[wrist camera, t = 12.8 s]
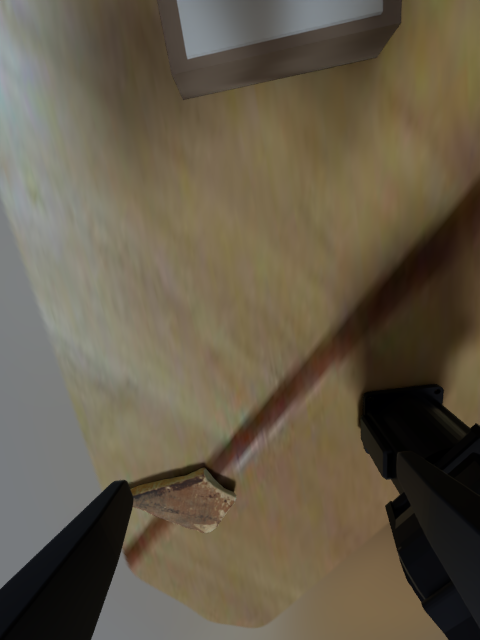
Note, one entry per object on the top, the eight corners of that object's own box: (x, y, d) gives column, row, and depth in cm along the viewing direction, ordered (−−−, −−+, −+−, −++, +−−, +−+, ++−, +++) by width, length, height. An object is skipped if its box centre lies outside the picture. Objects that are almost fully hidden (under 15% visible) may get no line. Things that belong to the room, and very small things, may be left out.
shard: (121, 487, 27) (112, 503, 25) (145, 437, 25) (138, 451, 23) (211, 522, 28) (208, 540, 26) (242, 477, 26) (241, 494, 24)
